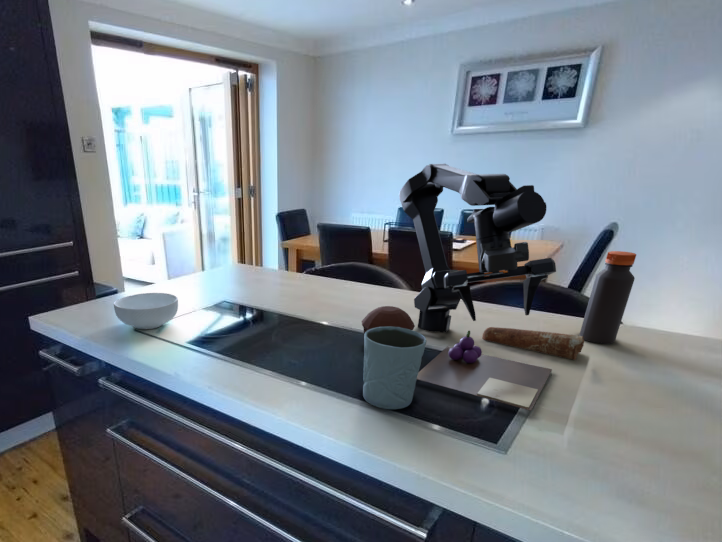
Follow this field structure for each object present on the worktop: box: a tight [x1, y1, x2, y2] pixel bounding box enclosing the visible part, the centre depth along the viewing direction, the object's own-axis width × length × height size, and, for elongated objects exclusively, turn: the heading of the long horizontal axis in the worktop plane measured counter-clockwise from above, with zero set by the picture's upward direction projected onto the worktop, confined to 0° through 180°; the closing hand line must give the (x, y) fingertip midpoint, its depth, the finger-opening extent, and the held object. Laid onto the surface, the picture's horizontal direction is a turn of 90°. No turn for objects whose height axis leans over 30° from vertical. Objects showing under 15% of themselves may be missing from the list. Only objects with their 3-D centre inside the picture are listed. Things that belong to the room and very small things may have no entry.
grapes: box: [449, 330, 483, 363], centre depth 90 cm, size 6×6×6 cm
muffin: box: [361, 305, 416, 335], centre depth 98 cm, size 12×11×10 cm
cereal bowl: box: [113, 292, 179, 330], centre depth 119 cm, size 17×17×7 cm
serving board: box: [417, 346, 553, 411], centre depth 85 cm, size 20×20×1 cm
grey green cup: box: [362, 327, 427, 410], centre depth 77 cm, size 10×10×12 cm
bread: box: [482, 326, 585, 361], centre depth 96 cm, size 6×19×6 cm, turn 46°
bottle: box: [579, 250, 637, 345], centre depth 99 cm, size 7×7×20 cm
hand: (500, 318), depth 86 cm, fingers open, 9 cm apart
